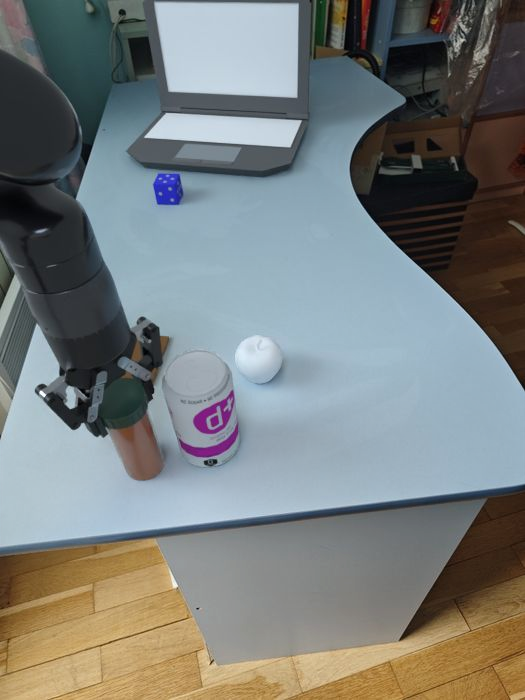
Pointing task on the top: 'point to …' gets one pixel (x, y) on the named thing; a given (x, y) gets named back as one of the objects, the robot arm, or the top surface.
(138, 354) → the coaster
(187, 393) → the supplement can
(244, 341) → the plain white apple
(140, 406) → the lid
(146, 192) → the top surface
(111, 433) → the jar
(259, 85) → the laptop
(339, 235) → the top surface
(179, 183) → the die
